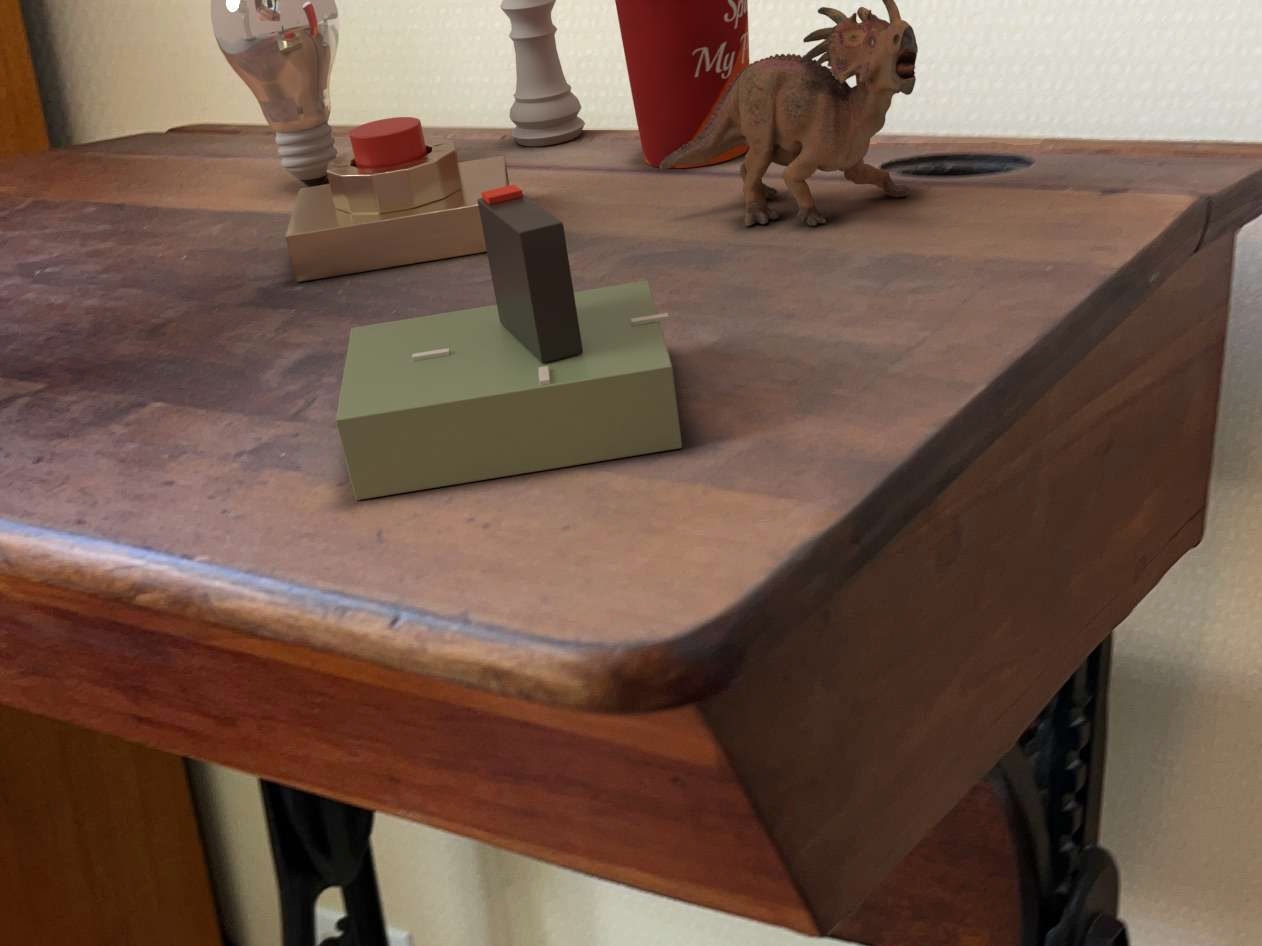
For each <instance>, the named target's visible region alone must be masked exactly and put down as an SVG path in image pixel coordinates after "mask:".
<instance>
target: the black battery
mask: <svg viewBox="0 0 1262 946" xmlns="http://www.w3.org/2000/svg"><path fill="white" fill-rule="evenodd" d="M481 195H482V198H480V199H478V200H477V201H478V207H479V212H480V217H481V223H482V228H483V233H484V239H485V244H486V249H487V252H486V254H487V260H488V265H489V269H490V270H489V271H490V275H491V276H490V277H491V281H492V287H493V291H494V296H495V303H496V305H497V308H498V313H499V319H500V323H501V324H502V325H503V326H504V327H505V328H506V329H507V330H508V331H509V332H510V333H511V334H513V335H514V336H515V337H516V338H517V339H518V340H519V341H520V342H521V343H522V344H523V345H524V346H525V347H526V348H527V349H528V350H529V351H530V352H531V353H532V354H533V355H534V356H535V357H536V358H537V359H538V360H539V361H540V362H541V363H546V362H550V361H554V360H558V359H562V358H566V357H569V356H573V355H577V354H581V353H583V348H582V341H581V335H580V329H579V322H578V316H577V310H576V303H575V297H574V292H575V291H574V285H573V277H572V272H571V265H570V259H569V253H568V246H567V240H566V235H565V228H564V223H563V222H562V221H561V220H560V219H559V218H557V217H556V216H554V215H553V214H552V213H550V212H549V211H547V210H546V209H545V208H544V207H542V206H541V205H539V204H538V203H536V202H535V201H534V200H532V199H531V198H530V197H528V196H527V195H526V194H525V193H523V190H522V189H521V188H520V187H518V186H517V185H516V184H510V186H505V187H501V188H497V189H493V190H488V191H484V192H481Z"/></svg>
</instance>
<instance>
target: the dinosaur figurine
mask: <svg viewBox="0 0 1262 946" xmlns="http://www.w3.org/2000/svg"><path fill="white" fill-rule="evenodd" d="M881 1H882V3H883V5H884V6H885V9H886V11H887V15H888V19H889V21H887V20H885V19H881V18H879V17H878V16H877V15H876V14H873V12H872V10H871V9H868V8H866V7H864V6H860V7H859V8H858V9H857V11H856V12H853V14H851V16H849V17H848V16H847V15H846V14H845V13H843V11H841V10H838V9H836V8H833V7H826V6H822V7H820V8H818V9H817V13H818V14H819V15H823V16H826V17H827V18H829V19H830V20H831V21H833V22H834V23H835V24H836V25H834V26H833V27H824V28H823V27H822V28H818V29H816V30H813V31H812V32H810V33H809V34H808V35H806V36H805V37H804V38H803V40H802V41H803V43H810V42H817V41H819V42H820V41H821V42H820V43H818V44H817V45H815V46H814V47H813V48H811V49H810V50H809V51H807V52H806V54H804V55H802V56H801V54H797V55H796V53H792V54H791V53H786V54H784V53H781V54H778V53H775V55H769V56H768V57H765V58H760V59H759V60H755V61H754V62H752V63H749V64H750V65H749V66H746V69H745V70H744V69H742V70H741V74H739V73H738V74H737V78H734V79H733V81H734V83H730V84H729V86H730V88H729V89H727V92H726V93H724V94H723V98H722V99H721V100H720V104H718V105H717V106H716V108H717V109H716V110H714V115H712V116H711V118H710V119H711V120H709V121H708V122H707V125H706V126H705V127H704V130H703V131H702V132H701V133H700V134H698V137H697V138H695V139H694V141H690V142H688V144H685V145H683V146H682V148H679V149H678V150H677V151H675V152H673V153H672V154H670V155H669V156H668V157H665V159H664V160H663V161H662V162H661V165H660V167H659V169H660V170H661V171H665V170H667V169H671V168H670V167H673V166H679V165H696V164H702V163H706V162H708V161H711V160H712V159H714V158H716V157H718V156H720V155H722V154H724V153H726V152H727V151H729V150H731V149H733V148H735V147H739V146H748V147H750V148H749V150H748V151H747V152H746V154H745V156H744V162H743V163H742V164H741V165H740V167H739V168H740V169H739V176H740V178H741V180H742V182H743V188H742V191H743V195H744V200H745V212H746V213H745V214H746V215H745V217H744V225H745V226H747V227H749V226H752V225H754V224H755V223H758V224H761V225H766V224H768V222H769V220H776V219H778V218H779V216H780V214H779V212H778V211H776V210H775V209H773V208H769V202H768V201H767V199H774V198H776V195H778V193H779V192H778V190H777V189H776V188H774V187H770V186H768V185H767V184H766V183H764V182H763V179H762V178H763V177H764V176H765V174H766V173H767V171H768V169H769V167H770V166H771V163H774V164H775V165H779V166H783V167H785V168H784V170H783V171H782V179H783V182H784V184H785V186H786V188H787V189H788V191H789V193H791V194H792V196H793V197H794V199H795V200H796V202H797V205H798V209H799V210H798V212H797V218H800V220H801V223H805V222H806V223H807V224H808V226H812V227H816V226H817V225H818V224H826V223H827V220H828V219H829V218H830V215H829V214H827V213H825V212H820V211H819V210H818V209H817V208H816V204H815V200H814V198H813V195H812V193H811V189H810V187H809V184H808V182H807V181H806V180H807V179H809V178H811V177H812V176H813V175H814V174H815V173H816V171H817V170H819V171H821V172H825V173H826V172H827V173H830V172H837V171H840V172H843V176H844V178H845V179H846V180H848V181H850V182H852V183H854V184H855V185H861V186H862V185H872V186H873V185H874V186H876V187H877V188H878V189H879V188H880V189H883V191H884V193H886V194H887V195H888V196H889V197H891V198H902V197H907V196H908V195H909V193H910V192H912V189H911V188H910V187H909V186H907V187H906V185H902V184H898V185H897V184H895V183H894V181H893V179H892V178H891V174H890V172H889V171H888V170H885V169H880V168H877V167H875V166H873V165H871V164H869V163H865V160H864V158H865V157H866V156H867V154H868V152H869V148H870V145H871V144H870V143H871V139H872V138H873V137H874V136H875V135H876V134H877V133H879V132H880V131H881V130H882V129H883V128H884V126H885V123H886V115H887V113H888V111H889V109H890V108H891V106H892V102H893V101H892V100H893V96H894V95H896V94H900V93H902V94H904V95H906V96H909V95H911V94H912V93H913V92H914V88H915V84H916V79H917V78H916V72H915V69H916V61H917V58H918V57H917V56H918V53H919V46H918V43H917V40H916V34H915V31H914V28H913V27H912V26H911V25H910V24H909V23H908V22H907V21H906V20H903V19H902V17H901V14H900V10H899V8H898V5H897V3H896V1H895V0H881ZM857 17H858V18H859V20H860V21H861V22H858V20H857ZM819 56H820V57H819ZM817 57H819V58H817ZM815 58H817V59H815ZM826 62H827V65H822V64H824V63H826ZM854 76H855V82H856V83H855V84H856V85H853V86H850V85H849V83H848V82H847V80H848V79H850V78H852V77H854Z"/></svg>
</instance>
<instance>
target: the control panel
mask: <svg viewBox="0 0 1262 946" xmlns="http://www.w3.org/2000/svg"><path fill="white" fill-rule="evenodd" d="M574 297H575V303H576V310H577V316H578V322H579V329H580V335H581V341H582V348H583V353H581V354H577V355H573V356H569V357H566V358H562V359H558V360H554V361H550V362H546V363H541V362H540V361H539V360H538V359H537V358H536V357H535V356H534V355H533V354H532V353H531V352H530V351H529V350H528V349H527V348H526V347H525V346H524V345H523V344H522V343H521V342H520V341H519V340H518V339H517V338H516V337H515V336H514V335H513V334H511V333H510V332H509V331H508V330H507V329H506V328H505V327H504V326H503V325H502V324H501V323H500V319H499V313H498V308H497V304H491V305H486V306H479V307H474V308H467V309H461V310H455V311H448V312H441V313H435V314H430V315H424V316H418V317H412V318H404V319H399V320H393V321H386V322H380V323H374V324H367V325H362V326H356V327H351V329H350V333H349V340H348V344H347V350H346V357H345V362H344V363H345V364H344V368H343V372H342V373H343V375H342V380H341V384H340V385H341V387H340V390H339V391H340V392H339V398H338V404H337V410H336V414H335V426H336V428H337V432H338V436H339V440H340V444H341V448H342V451H343V456H344V458H345V459H344V460H345V463H346V467H347V471H348V475H349V479H350V483H351V487H352V490H353V494H354V498H355V500H356V501H359V500H366V499H372V498H379V497H384V496H385V497H386V496H391V495H398V494H403V493H404V494H405V493H409V492H416V491H422V490H429V489H434V488H441V487H448V486H454V485H460V484H466V483H473V482H478V481H479V482H480V481H484V480H485V481H486V480H490V479H498V478H503V477H509V476H516V475H523V474H528V473H535V472H540V471H546V470H547V471H548V470H553V469H559V468H566V467H572V466H579V465H585V464H591V463H598V462H604V461H609V460H617V459H623V458H628V457H635V456H642V455H648V454H654V453H661V452H667V451H671V450H678V449H682V448H683V442H682V436H681V435H682V434H681V426H680V418H679V411H678V410H679V409H678V401H677V395H676V385H675V378H674V377H675V376H674V369H673V363H672V360H671V357H670V353H669V350H668V345H667V343H666V339H665V336H664V332H663V328H662V325H661V322H665V321H669V320H670V316H669V312H664V313H658V310H657V306H656V303H655V299H654V296H653V292H652V289H651V285H650V281H649V280H641V281H640V280H639V281H635V282H628V283H622V284H615V285H609V286H604V287H597V288H591V289H585V290H578V291H574Z"/></svg>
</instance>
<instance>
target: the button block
mask: <svg viewBox="0 0 1262 946" xmlns="http://www.w3.org/2000/svg"><path fill="white" fill-rule="evenodd" d="M424 141H425V146H426V151H427V155H426V156H424V157H422V158H420V159H417V160H414V161H411V162H407V163H404V164H400V165H393V166H387V167H381V168H357V166H356V162H355V157H354V153H353V149H352V150H349V151H346V152H345V153H343V154H341V155H339V156H336V158H335V159H333V160H332V161H330V162H329V164H328V167H327V179H328V183H325V184H318V185H311V186H306V187H301V188H299V191H298V194H297V198H296V201H295V204H294V207H293V209H292V213H291V217H290V220H289V223H288V225H287V226H288V227H287V229H286V233H285V235H284V237H285V241H286V245H287V248H288V252H289V256H290V260H291V263H292V267H293V271H294V275H295V278H296V282H297V283H303V282H309V281H315V280H321V279H327V278H332V277H340V276H344V275H351V274H357V273H364V272H370V271H376V270H383V269H387V268H394V267H400V266H401V267H402V266H407V265H413V264H419V263H426V262H433V261H437V260H444V259H450V258H451V259H452V258H457V257H462V256H470V255H475V254H482V253H487V249H486V244H485V239H484V233H483V228H482V223H481V217H480V212H479V207H478V201H477V200H478V199H480V198H482V195H481V192H484V191H488V190H493V189H497V188H501V187H505V186H510V185H511V184H510V180H509V173H508V168H507V162H506V158H505V157H506V156H505V155H498V156H492V157H485V158H479V159H473V160H467V161H461V162H460V160H459V156H458V150H457V144H456V142H455V141H454V140H450V139H446V138H443V137H437V136H435V137H424Z"/></svg>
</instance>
